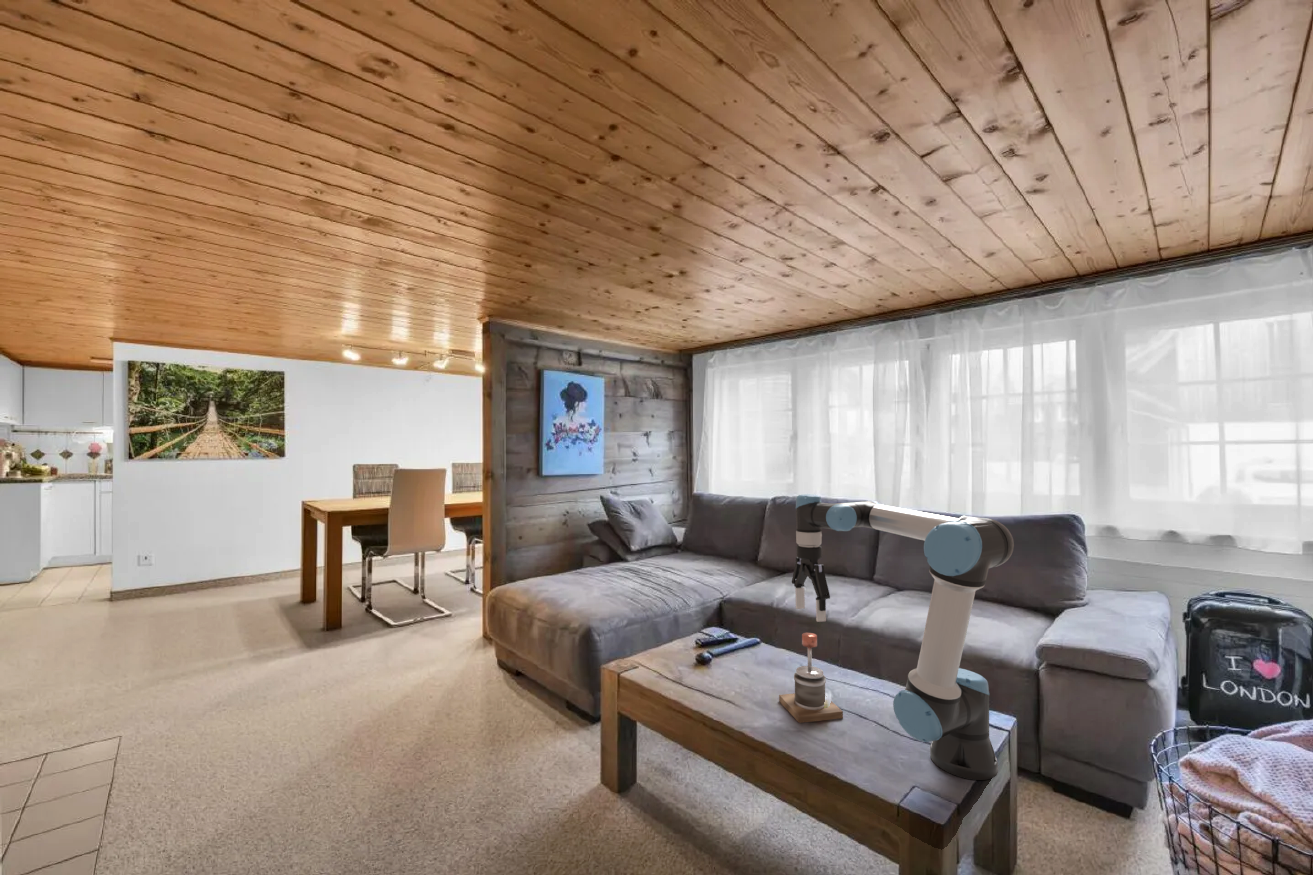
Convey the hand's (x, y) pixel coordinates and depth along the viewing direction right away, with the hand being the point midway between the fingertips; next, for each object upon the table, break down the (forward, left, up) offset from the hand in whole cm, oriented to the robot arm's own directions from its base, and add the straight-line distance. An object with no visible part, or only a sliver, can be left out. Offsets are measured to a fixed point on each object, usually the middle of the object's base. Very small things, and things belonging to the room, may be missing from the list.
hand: (810, 614), depth 169 cm
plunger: (0, 0, -18) cm, 18 cm away
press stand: (0, 0, -29) cm, 29 cm away
